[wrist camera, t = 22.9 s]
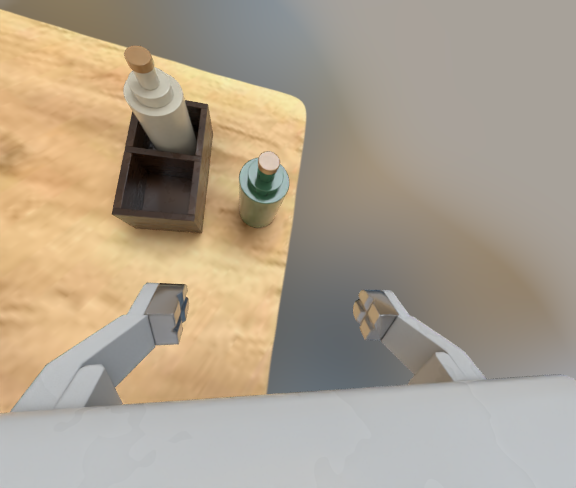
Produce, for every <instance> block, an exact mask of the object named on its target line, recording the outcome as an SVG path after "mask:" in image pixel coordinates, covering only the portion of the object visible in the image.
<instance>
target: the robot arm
mask: <svg viewBox="0 0 576 488" xmlns="http://www.w3.org/2000/svg"><path fill="white" fill-rule="evenodd" d="M187 291H188V290H187V285H185V284H166V283H146V284H145V285H144V286H143V287H142V289H141V291H140V293H139V294H138V296H137V298H136V299H135V301H134V303H133V305H132V306H131V308H130V310H129V312H128V313H127V315H121V316H120V317H118V318H117V319H115V320H114V321H112V322H111V323H109V324H108V325H106V326H105V327H103V328H102V329H100V330H99V331H97V332H96V333H94V334H92V335H91V336H89V337H88V338H86V339H85V340H83V341H82V342H80V343H79V344H77V345H76V346H74V347H73V348H71V349H70V350H68V351H67V352H65V353H63V354H62V355H60V356H59V357H57V358H56V359H54V360H53V361H51V362H50V363H48V364H47V365H46V366H45V367H44V368H43V370H42V371H41V372H40V374H39V375H38V376H37V377H36V379H35V380H34V381H33V383H32V384H31V385H30V387H29V388H28V389H27V390H26V392H25V393H24V394H23V396H22V397H21V398H20V400H19V401H18V402H17V403H16V405H15V406H14V407H13V409H12V410H11V411H10V412H8V413H0V488H576V380H575V379H573V378H571V377H569V376H565V375H561V374H553V375H539V376H525V377H510V378H496V379H487V378H486V377H485V376H484V375H483V374H482V373H481V371H480V370H479V369H478V367H477V366H476V365H475V364H474V363H473V361H471V359H470V358H469V357H468V355H467V354H466V353H465V352H464V351H463V350H462V349H460V348H459V347H457V346H456V345H455V344H453V343H452V342H450V341H448V340H447V339H445V338H444V337H443V336H441V335H440V334H438V333H437V332H435V331H434V330H432V329H431V328H429V327H428V326H427V325H425V324H424V323H422V322H420V321H419V320H418V319H416V318H415V317H413V316H410V315H409V314H408V313H407V311H406V310H405V308H404V307H403V306H402V304H401V303H400V301H399V300H398V299H397V297H396V296H395V294H394V293H393V292H392V291H390V290H362V291H360V293H359V299H358V300H357V301H355V304H354V306H353V314H354V317H355V319H356V321H357V322H359V323H360V330H361V332H362V335H363V336H364V339H365V340H381V342H382V343H383V344H384V345H385V346H386V347H387V348H388V349H389V350H390V351H391V352H392V353H393V354H394V355H395V356H396V357H397V358H398V359H399V360H400V361H401V362H402V363H403V364H404V365H405V366H406V367H407V368H408V369H409V370H410V371H411V372H412V373H413V374H414V376H413V377H412V378H411V380H410V381H409V385H397V386H382V387H367V388H353V389H340V390H339V389H338V390H323V391H310V392H295V393H281V394H266V395H252V396H237V397H223V398H209V399H194V400H180V401H166V402H152V403H137V404H123V403H122V401H121V399H120V397H119V395H118V393H117V391H116V389H115V387H116V386H117V385H118V384H119V383H120V382H121V381H122V380H123V379H124V378H125V377H126V376H127V375H128V374H129V373H130V372H131V371H132V370H133V369H134V368H135V367H136V366H137V365H138V364H139V363H140V362H141V361H142V360H143V359H144V358H145V357H146V356H147V355H148V354H149V353H150V352H151V351H152V350H153V349H154V348H155V345H173V344H179V341H180V338H181V335H182V331H183V325H182V323H183V322H184V321H186V318H187V314H188V308H189V301H188V298H187V297H186V294H187ZM122 404H123V405H122Z"/></svg>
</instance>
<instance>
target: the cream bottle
mask: <svg viewBox="0 0 576 488" xmlns="http://www.w3.org/2000/svg"><path fill="white" fill-rule="evenodd" d="M124 56H125V59H126V61H127V63H128V65H129V67H130V68H131V69H132V70H133V71H132V72H131V73H130V74H129V77H128V79H127V81H126V83H125V85H124V97H125V99H126V101H127V103H128V104H129V106H130V108H131V109H132V111H133V113H134V114H135V116H136V118H137V119H138V121H139V123H140V124H141V126H142V128H143V129H144V131H145V133H146V134H147V136H148V138H149V139H150V141H151V143H152V144H153V146H154V148H155V149H156V150H159V151H166V152H173V153H180V154H187V155H194V156H195V153H196V145H197V140H196V136H195V133H194V129H193V126H192V122H191V119H190V116H189V112H188V109H187V105H186V102H185V98H184V95H183V91H182V88H181V86H180V85H179V83H178V82H177V81H176V80H175V79H174V78H173V77H171V76H170V75H168V74H166V73H164V72H163V71H162V70H160V69H158V68H155V67H154V62H153V59H152V57H151V54H150V52H149V51H148V50H147V49H146V48H144V47H141V46H130V47H128V48H127V49H126V50H125V52H124Z"/></svg>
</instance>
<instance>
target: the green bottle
mask: <svg viewBox="0 0 576 488" xmlns="http://www.w3.org/2000/svg"><path fill="white" fill-rule="evenodd" d="M288 188H289V177H288V174H287V172H286V170H285V169H284V167H283V166H282V165H281V164H280V159H279V157H278V156H277V155H276V154H275V153H273V152H270V151H266V152H263V153H261V154H260V156H259V158H255V159H252V160H250V161H248V162H247V163H246V164H245V165H244V166H243V167H242V169H241V171H240V175H239V212H240V216H241V218H242V220H243V221H244V222H245V223H246V224H247V225H249V226H251V227H254V228H262V227H266V226H268V225H269V224H270V223H271V222H272V221H273V220H274V218H275V216H276V214H277V212H278V210H279V208H280V206H281V204H282V202H283V200H284V197H285V195H286V193H287V191H288Z"/></svg>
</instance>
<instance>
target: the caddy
mask: <svg viewBox="0 0 576 488" xmlns="http://www.w3.org/2000/svg"><path fill="white" fill-rule="evenodd" d="M185 102H186V105H187V109H188V112H189V116H190V119H191V122H192V126H193V129H194V133H195V136H196V140H197V145H196V153H195V156H194V155H187V154H180V153H173V152H166V151H159V150H156V149H155V148H154V146H153V144H152V143H151V141H150V139H149V138H148V136H147V134H146V133H145V131H144V129H143V128H142V126H141V124H140V123H139V121H138V119H137V118H136V116H135V114H134V113H133V111H132V116H131V121H130V126H129V131H128V136H127V141H126V146H125V152H124V155H123V160H122V165H121V170H120V175H119V180H118V185H117V190H116V195H115V200H114V205H113V211H112V215H114V216H116V217H117V218H119V219H121V220H122V221H124V222H126V223H128V224H129V225H131V226H133V227H134V228H140V229H154V230H167V231H180V232H194V233H202V228H203V219H204V210H205V201H206V192H207V183H208V174H209V165H210V156H211V147H212V138H213V131H212V125H211V119H210V114H209V108H208V104H203V103H198V102H192V101H187V100H185Z"/></svg>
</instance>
